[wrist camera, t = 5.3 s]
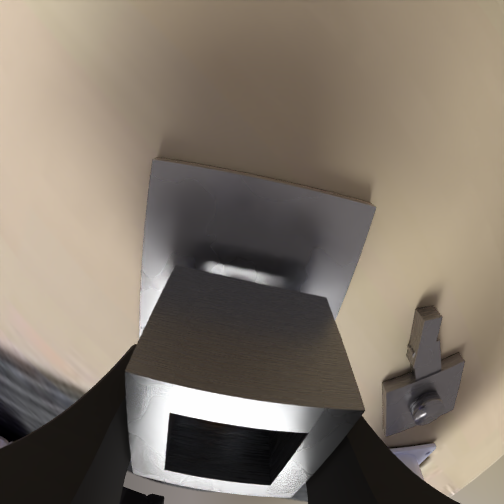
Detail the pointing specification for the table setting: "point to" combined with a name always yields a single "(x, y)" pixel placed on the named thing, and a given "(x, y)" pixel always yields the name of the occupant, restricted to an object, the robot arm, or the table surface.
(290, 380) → the gray hollow cube
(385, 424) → the gray t-shaped latch
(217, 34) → the table surface
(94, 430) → the robot arm
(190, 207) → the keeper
